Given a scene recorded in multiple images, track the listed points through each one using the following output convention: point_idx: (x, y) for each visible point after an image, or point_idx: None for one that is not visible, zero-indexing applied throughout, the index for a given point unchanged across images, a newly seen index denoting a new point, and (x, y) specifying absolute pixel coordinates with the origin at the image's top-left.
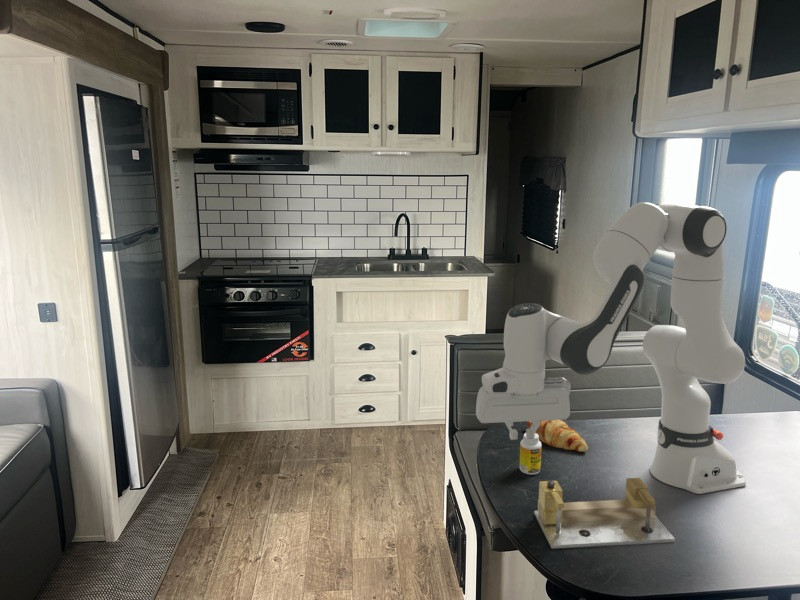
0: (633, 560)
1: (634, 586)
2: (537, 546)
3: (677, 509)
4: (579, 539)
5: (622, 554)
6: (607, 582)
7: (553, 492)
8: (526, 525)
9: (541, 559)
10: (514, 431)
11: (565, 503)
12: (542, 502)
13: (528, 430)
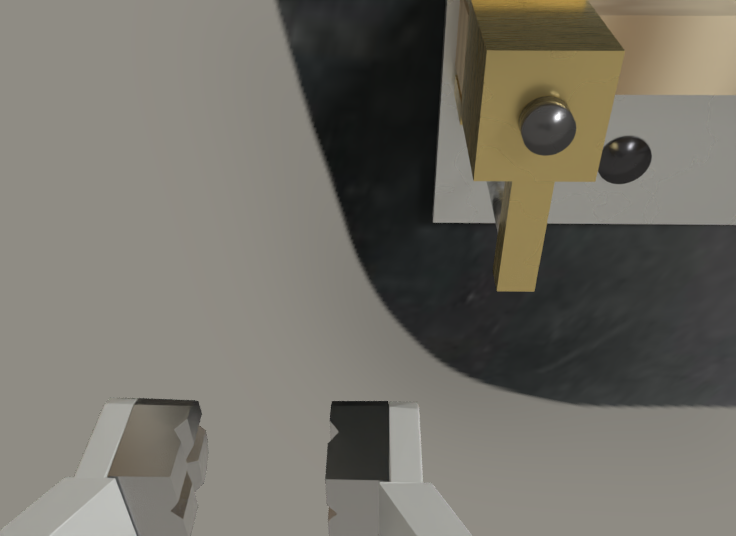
0: (715, 294)
1: (625, 388)
2: (377, 194)
3: None
4: (573, 198)
5: (700, 264)
6: (551, 369)
7: (525, 189)
8: (370, 40)
9: (369, 263)
10: (144, 520)
11: (633, 24)
12: (467, 89)
13: (345, 513)
